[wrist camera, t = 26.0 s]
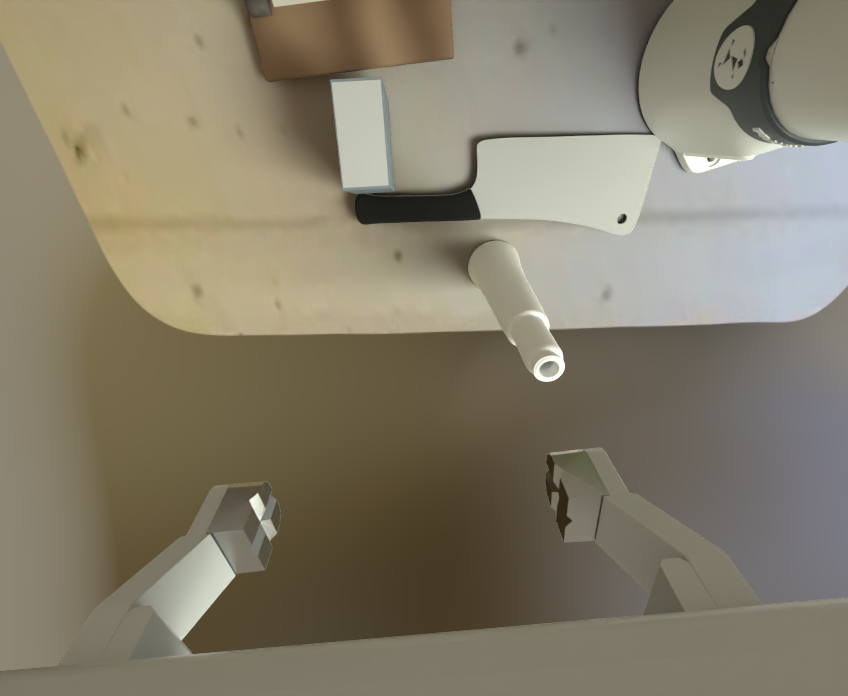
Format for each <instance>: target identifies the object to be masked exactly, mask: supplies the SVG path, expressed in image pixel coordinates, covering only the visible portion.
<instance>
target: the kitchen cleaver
mask: <svg viewBox="0 0 848 696" xmlns="http://www.w3.org/2000/svg"><path fill="white" fill-rule="evenodd" d="M660 144H661V140H660V139H658V138H657V137H656V136H655V135H591V136H559V137H514V138H496V139H488V140H483V141H481V142H479V143H478V144H477V176H476V180H475V183H474V184H473V186H472V187H471V188H468V189H466V190H464V191H462V192H459V193H455V194H448V195H414V196H379V195H371V194H358V195H357V197H356V201H355V211H356V216H357V218H358V220H359V222H360V223H361V224H364V225H368V224H378V223H401V222H430V221H464V220H479V219H540V220H552V221H560V222H567V223H573V224H579V225H584V226H589V227H593V228H597V229H600V230H603V231H606V232H610V233H613V234H617V235H627V234H629V233H630V232H631V231H632V230H633V229H634V227H635V225H636V223H637V220H638V217H639V214H640V211H641V208H642V205H643V202H644V199H645V196H646V193H647V189H648V186H649V182H650V178H651V175H652V171H653V167H654V164H655V160H656V157H657V154H658V151H659V148H660ZM621 214H625V215H626V220H625V221H624V222H623V223H620V224H619V223H618V222H617V218H618V216H619V215H621Z"/></svg>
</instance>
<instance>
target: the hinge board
mask: <svg viewBox="0 0 848 696" xmlns="http://www.w3.org/2000/svg"><path fill="white" fill-rule="evenodd" d="M245 1H246V5H247V9H248V13H249V17H250V21H251V25H252V28H253V32H254V36H255V40H256V44H257V48H258V52H259V56H260V60H261V64H262V67H263V71H264V75H265V79H266V81H269V82H273V81H281V80H289V79H297V78H305V77H312V76H320V75H328V74H336V73H344V72H352V71H359V70H367V69H375V68H383V67H391V66H399V65H406V64H414V63H422V62H430V61H438V60H446V59H453V57H454V48H453V30H452V12H451V0H324V1H316V2H309V3H301V4H294V5H286V6H279V7H274V5H273V2H272V0H245Z"/></svg>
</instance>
